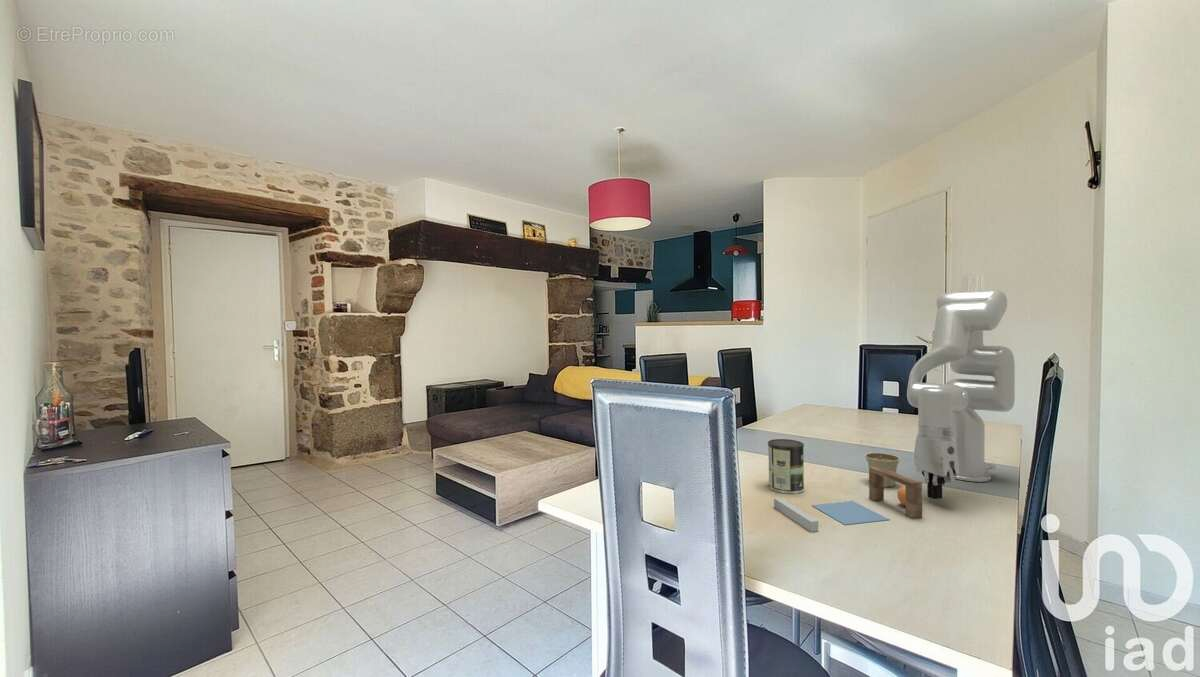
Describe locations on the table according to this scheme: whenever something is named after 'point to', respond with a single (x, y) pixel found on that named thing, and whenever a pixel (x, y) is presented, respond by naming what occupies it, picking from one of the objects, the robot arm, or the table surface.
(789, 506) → the wall
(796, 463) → the coffee can
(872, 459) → the flower pot
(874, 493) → the bridge
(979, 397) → the robot arm
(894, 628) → the table surface
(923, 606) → the table surface
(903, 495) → the ball
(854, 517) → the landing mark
